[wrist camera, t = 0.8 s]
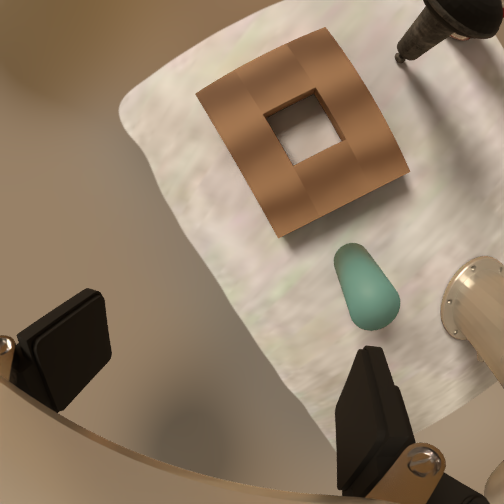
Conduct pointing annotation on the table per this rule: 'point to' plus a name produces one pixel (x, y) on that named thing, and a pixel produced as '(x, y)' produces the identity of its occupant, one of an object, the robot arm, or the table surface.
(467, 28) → the microphone
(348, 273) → the peg
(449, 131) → the table surface
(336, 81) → the socket board
